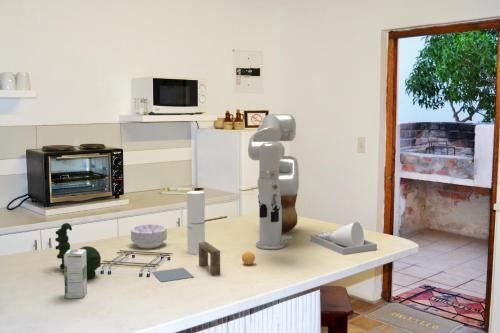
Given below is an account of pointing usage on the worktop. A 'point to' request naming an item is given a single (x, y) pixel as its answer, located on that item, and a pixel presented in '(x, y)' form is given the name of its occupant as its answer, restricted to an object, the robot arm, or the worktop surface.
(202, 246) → the bridge
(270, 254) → the worktop surface
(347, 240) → the rocket engine
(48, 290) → the worktop surface
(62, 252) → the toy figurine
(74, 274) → the syrup box
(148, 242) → the paper bowls
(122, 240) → the worktop surface
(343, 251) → the grey rimmed tray
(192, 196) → the cylindrical container
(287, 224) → the brown vase
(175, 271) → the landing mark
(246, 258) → the ball
